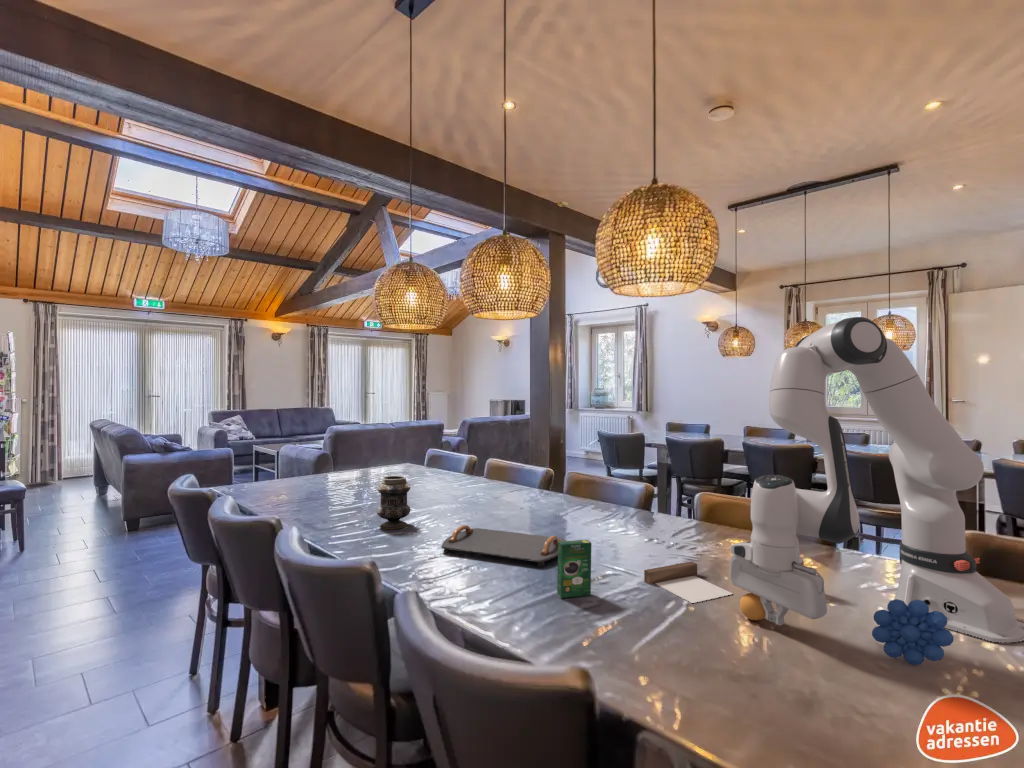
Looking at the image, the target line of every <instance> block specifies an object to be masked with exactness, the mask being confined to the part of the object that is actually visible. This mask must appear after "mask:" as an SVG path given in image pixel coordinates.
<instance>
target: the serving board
mask: <svg viewBox="0 0 1024 768" xmlns="http://www.w3.org/2000/svg"><path fill="white" fill-rule="evenodd" d="M558 541H566V540H565V539H564V538H561V537H558V536H557V535H551V536H546V535H539V534H528V533H522V532H513V531H505V530H496V529H488V528H481V527H480V528H478V527H475V528H471V527H470V526H469V525H466V524H465V525H464V524H463V525H461V526H459V527H457V528H456V529H455V530H454V531H453V533H452V535H451V536H449V537H447V538H446V539H445V540H444V541H443V542H442V544H441V545H440V548H441V549H443V553H444V554H450V553H451V551H457V552H464V553H472V554H479V555H486V556H493V557H501V558H507V559H514V560H521V561H529V562H535V563H537V564H536V566H537V567H539V568H543V567H545V566H546V565H545V564H546V563H545V562H548V561H550V560H551V559H554V558H556V557H557V558H558Z"/></svg>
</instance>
